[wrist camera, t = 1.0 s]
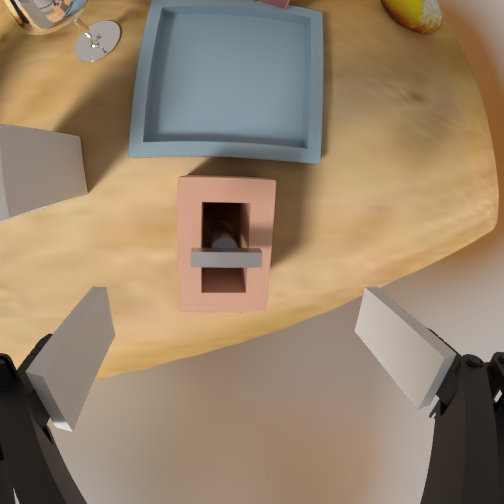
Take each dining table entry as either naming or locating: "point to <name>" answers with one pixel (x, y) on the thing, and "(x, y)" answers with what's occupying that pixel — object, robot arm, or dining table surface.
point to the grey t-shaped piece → (225, 251)
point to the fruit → (415, 14)
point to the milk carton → (38, 169)
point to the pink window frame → (250, 236)
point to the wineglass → (64, 24)
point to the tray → (229, 82)
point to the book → (276, 2)
